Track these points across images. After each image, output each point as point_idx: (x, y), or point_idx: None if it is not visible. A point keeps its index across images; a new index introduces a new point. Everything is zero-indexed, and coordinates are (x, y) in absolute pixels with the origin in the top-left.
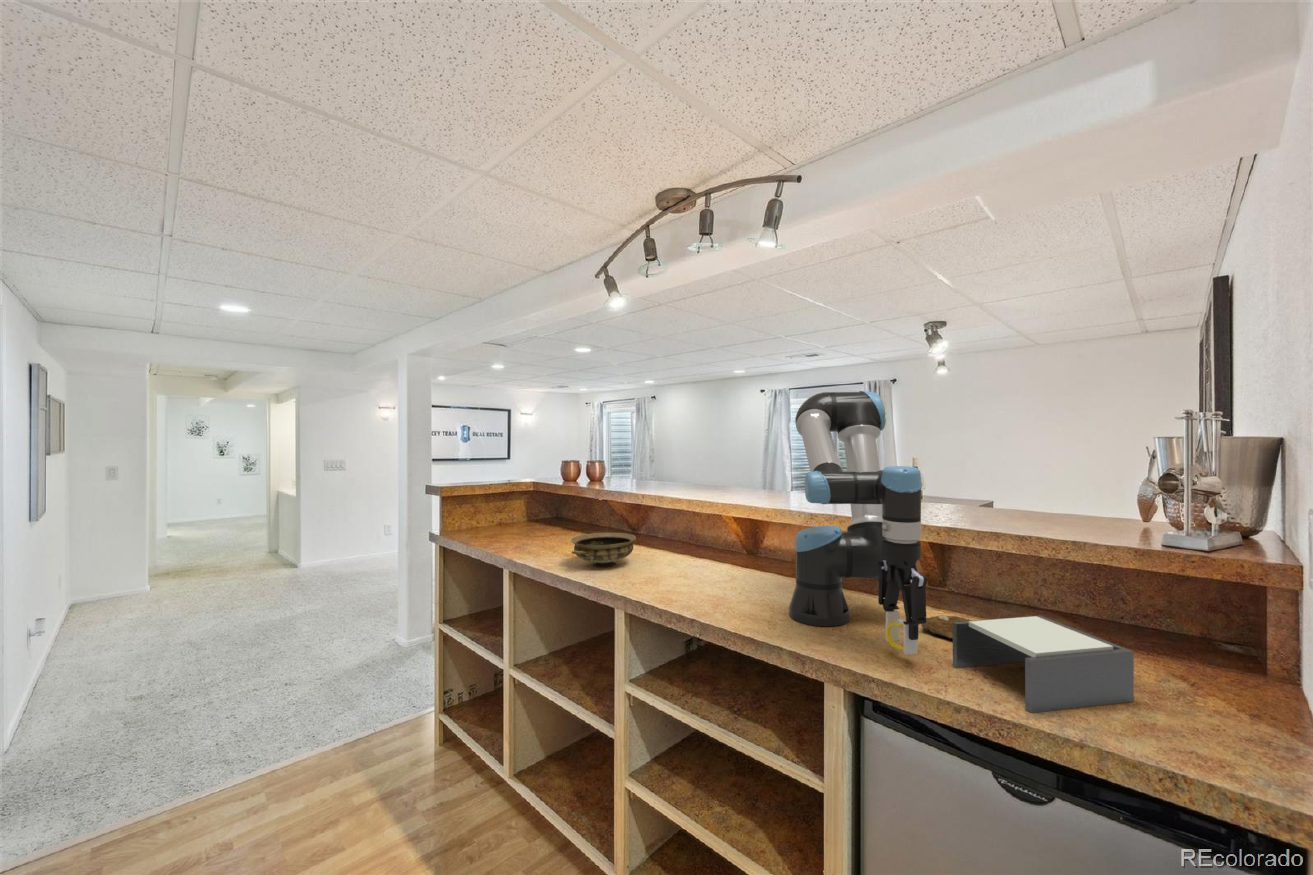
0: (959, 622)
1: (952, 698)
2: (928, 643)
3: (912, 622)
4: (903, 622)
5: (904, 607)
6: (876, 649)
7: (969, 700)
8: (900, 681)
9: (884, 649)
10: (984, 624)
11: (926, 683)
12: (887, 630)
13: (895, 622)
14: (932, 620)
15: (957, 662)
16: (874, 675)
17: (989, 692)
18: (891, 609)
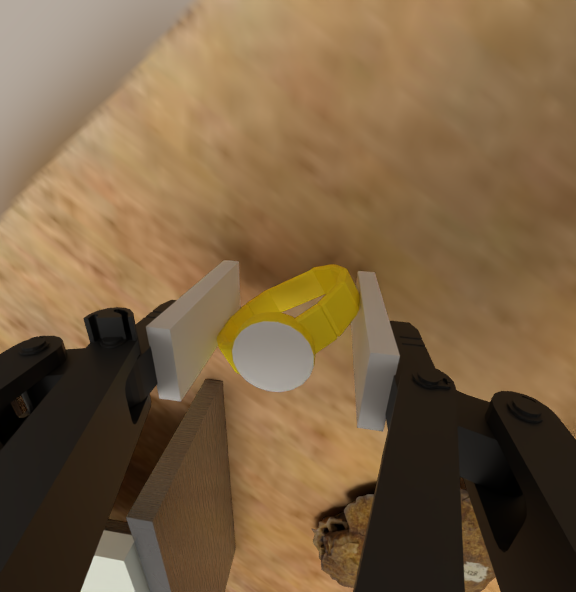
0: (147, 537)
1: (20, 233)
2: (382, 431)
3: (57, 341)
4: (128, 313)
5: (82, 416)
6: (408, 238)
7: (17, 270)
8: (121, 140)
9: (395, 270)
10: (92, 574)
11: (110, 225)
12: (339, 280)
13: (272, 322)
14: (472, 538)
15: (199, 391)
16: (174, 54)
17: (69, 347)
18: (392, 407)
